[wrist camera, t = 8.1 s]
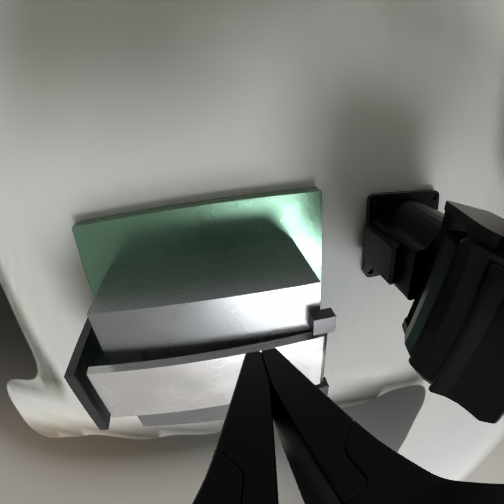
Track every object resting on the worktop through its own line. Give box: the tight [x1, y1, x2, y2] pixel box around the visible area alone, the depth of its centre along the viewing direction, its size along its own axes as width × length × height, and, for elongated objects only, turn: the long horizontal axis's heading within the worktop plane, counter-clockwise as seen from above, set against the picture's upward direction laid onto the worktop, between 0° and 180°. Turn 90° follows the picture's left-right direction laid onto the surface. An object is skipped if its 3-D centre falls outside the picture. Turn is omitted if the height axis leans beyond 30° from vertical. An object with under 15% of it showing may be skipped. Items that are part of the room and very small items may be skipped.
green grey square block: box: [64, 187, 336, 430], centre depth 19 cm, size 16×16×8 cm
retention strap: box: [87, 332, 327, 417], centre depth 17 cm, size 13×4×1 cm, turn 95°
